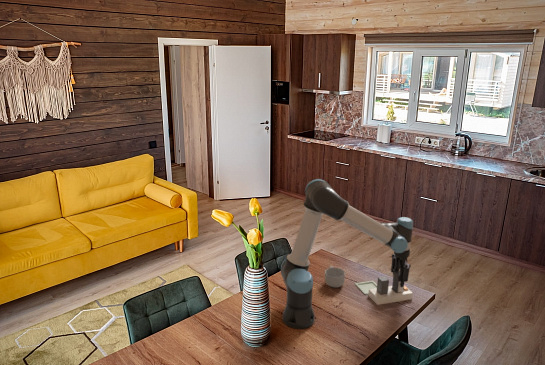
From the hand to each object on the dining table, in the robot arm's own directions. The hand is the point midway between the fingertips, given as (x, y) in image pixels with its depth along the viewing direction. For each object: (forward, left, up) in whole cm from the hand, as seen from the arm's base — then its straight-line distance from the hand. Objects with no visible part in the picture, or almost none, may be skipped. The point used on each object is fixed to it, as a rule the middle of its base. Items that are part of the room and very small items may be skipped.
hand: (397, 289), depth 220 cm
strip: (-4, 0, -4) cm, 6 cm away
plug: (0, 0, -2) cm, 2 cm away
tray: (-10, +11, -4) cm, 16 cm away
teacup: (-26, +21, -5) cm, 34 cm away
